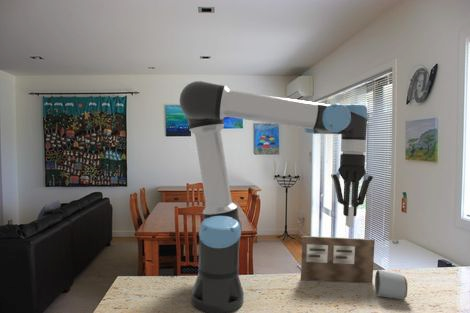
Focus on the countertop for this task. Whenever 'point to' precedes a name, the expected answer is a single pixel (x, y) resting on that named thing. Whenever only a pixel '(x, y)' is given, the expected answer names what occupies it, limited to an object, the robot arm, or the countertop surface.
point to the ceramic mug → (390, 285)
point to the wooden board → (337, 259)
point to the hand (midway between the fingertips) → (349, 225)
